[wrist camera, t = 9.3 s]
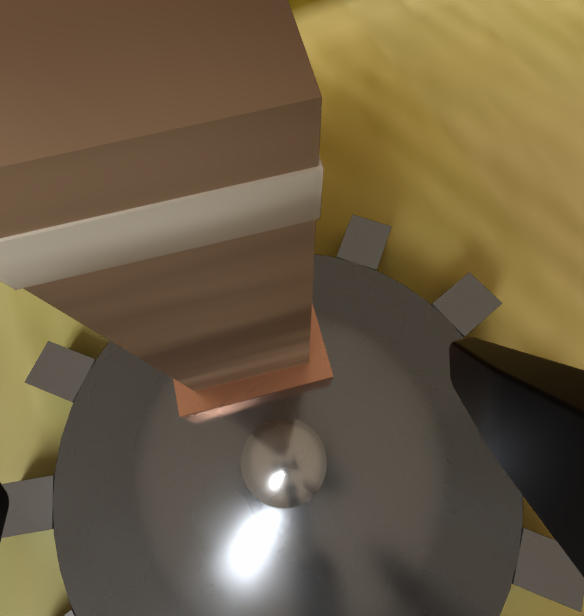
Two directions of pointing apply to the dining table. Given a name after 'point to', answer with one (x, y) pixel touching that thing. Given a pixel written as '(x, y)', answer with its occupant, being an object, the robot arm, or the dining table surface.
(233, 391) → the sprocket plate
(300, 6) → the dining table surface
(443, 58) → the dining table surface
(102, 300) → the link block
